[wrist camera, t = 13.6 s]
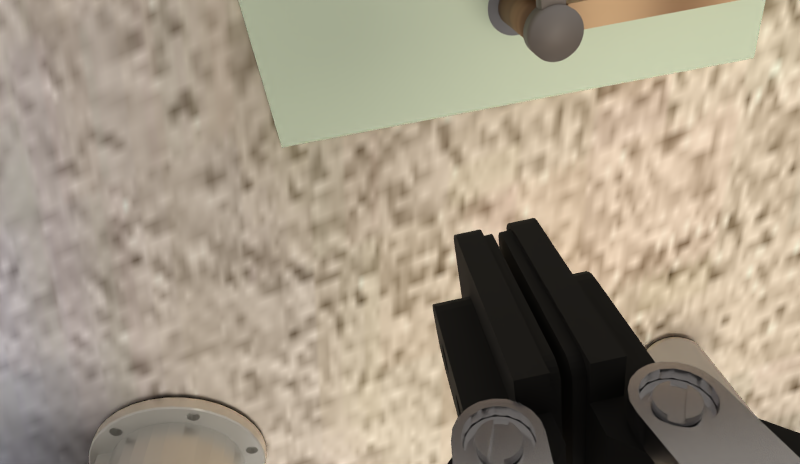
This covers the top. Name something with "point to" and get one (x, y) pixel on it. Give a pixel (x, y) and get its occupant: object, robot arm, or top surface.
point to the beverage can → (688, 358)
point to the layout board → (457, 58)
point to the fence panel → (553, 30)
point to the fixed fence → (601, 10)
